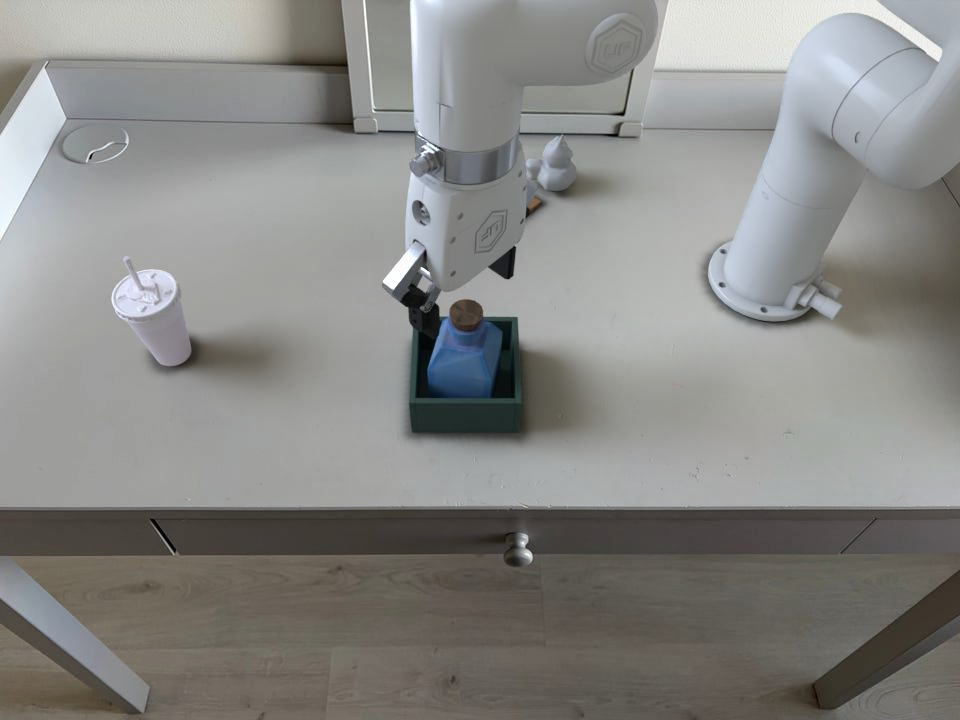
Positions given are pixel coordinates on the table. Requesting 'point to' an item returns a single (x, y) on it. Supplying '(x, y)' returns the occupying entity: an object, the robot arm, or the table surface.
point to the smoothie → (154, 312)
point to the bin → (468, 412)
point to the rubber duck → (553, 166)
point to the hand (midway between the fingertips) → (462, 298)
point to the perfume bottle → (465, 354)
